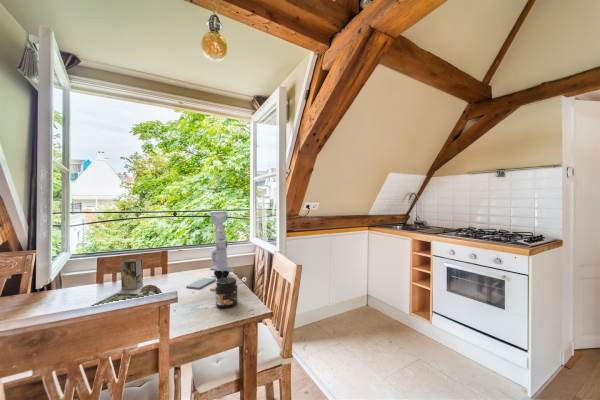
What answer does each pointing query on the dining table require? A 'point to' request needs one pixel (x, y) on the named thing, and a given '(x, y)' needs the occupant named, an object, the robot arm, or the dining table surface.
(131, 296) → the olive sloped mound
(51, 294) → the dining table surface
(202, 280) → the board
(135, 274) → the coffee box
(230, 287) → the supplement container
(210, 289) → the stub
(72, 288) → the dining table surface
